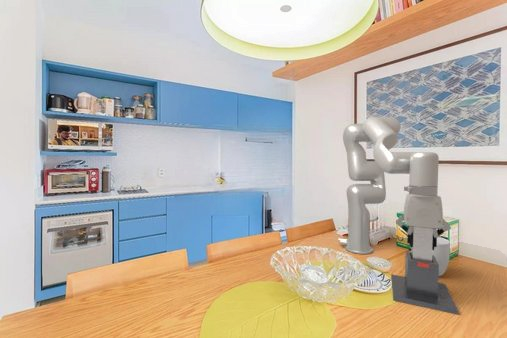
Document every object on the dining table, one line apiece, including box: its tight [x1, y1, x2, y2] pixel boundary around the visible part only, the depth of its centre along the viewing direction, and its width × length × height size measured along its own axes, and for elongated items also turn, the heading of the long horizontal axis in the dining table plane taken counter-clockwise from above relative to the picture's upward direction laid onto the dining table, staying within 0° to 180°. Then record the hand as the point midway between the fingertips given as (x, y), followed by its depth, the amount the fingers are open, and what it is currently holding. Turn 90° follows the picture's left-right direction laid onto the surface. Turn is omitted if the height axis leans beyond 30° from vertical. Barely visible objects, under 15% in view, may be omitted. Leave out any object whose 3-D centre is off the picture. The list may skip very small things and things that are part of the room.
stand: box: [390, 251, 459, 315], centre depth 82 cm, size 16×16×12 cm
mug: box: [432, 236, 451, 278], centre depth 96 cm, size 15×11×13 cm
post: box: [410, 227, 433, 262], centre depth 81 cm, size 5×5×20 cm
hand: (421, 246), depth 81 cm, fingers closed on post, 5 cm apart
